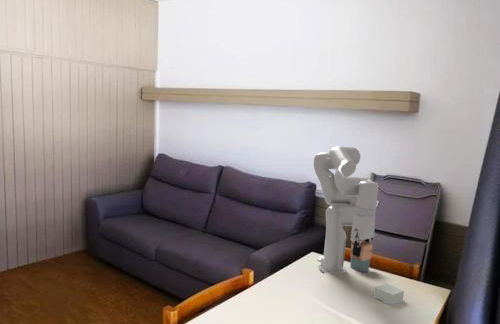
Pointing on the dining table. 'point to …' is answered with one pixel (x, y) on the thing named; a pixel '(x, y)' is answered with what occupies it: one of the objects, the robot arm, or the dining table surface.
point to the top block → (363, 251)
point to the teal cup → (360, 265)
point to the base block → (388, 293)
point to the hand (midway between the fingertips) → (361, 254)
